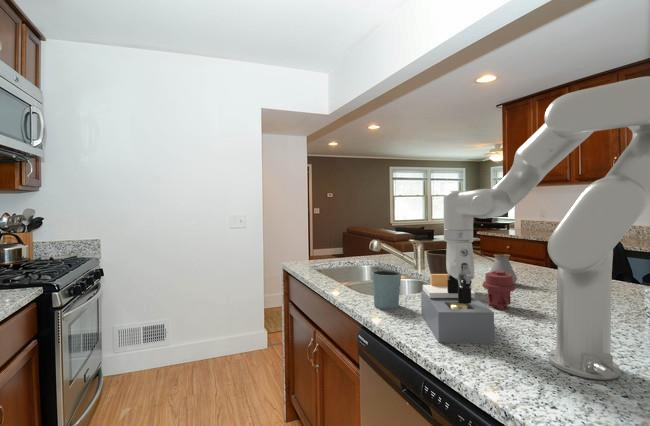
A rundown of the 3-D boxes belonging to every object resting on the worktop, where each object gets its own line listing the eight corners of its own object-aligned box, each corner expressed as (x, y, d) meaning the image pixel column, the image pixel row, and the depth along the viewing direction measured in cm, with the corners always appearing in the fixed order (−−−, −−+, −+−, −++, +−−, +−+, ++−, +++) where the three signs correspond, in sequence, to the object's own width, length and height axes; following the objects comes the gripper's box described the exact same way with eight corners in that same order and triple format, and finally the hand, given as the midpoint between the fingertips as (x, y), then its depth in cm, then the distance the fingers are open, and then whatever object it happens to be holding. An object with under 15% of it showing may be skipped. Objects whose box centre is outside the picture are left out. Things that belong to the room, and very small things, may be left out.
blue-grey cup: (367, 303, 126) (367, 270, 125) (391, 300, 129) (391, 268, 129) (381, 311, 116) (381, 276, 116) (407, 308, 120) (406, 273, 119)
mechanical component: (510, 303, 123) (519, 312, 113) (479, 302, 125) (487, 310, 115) (509, 268, 122) (519, 274, 113) (479, 268, 124) (486, 274, 115)
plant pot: (461, 297, 131) (461, 255, 131) (422, 292, 139) (421, 253, 139) (468, 288, 144) (467, 250, 144) (431, 284, 152) (431, 248, 151)
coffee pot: (519, 283, 152) (519, 249, 151) (513, 288, 143) (513, 252, 142) (469, 277, 165) (469, 246, 165) (461, 281, 156) (460, 248, 156)
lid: (475, 298, 101) (475, 280, 101) (429, 297, 102) (429, 281, 102) (464, 289, 111) (463, 273, 111) (422, 289, 112) (422, 273, 112)
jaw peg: (469, 329, 93) (469, 307, 93) (453, 329, 94) (453, 307, 93) (464, 324, 98) (464, 303, 97) (448, 323, 98) (448, 302, 98)
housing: (494, 343, 89) (494, 312, 89) (438, 342, 90) (438, 312, 90) (465, 315, 111) (465, 290, 111) (421, 315, 112) (421, 290, 112)
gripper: (484, 239, 86) (484, 307, 86) (462, 232, 103) (462, 289, 104) (453, 239, 86) (454, 307, 87) (436, 233, 104) (436, 289, 104)
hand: (458, 297), depth 95 cm, fingers open, 9 cm apart
